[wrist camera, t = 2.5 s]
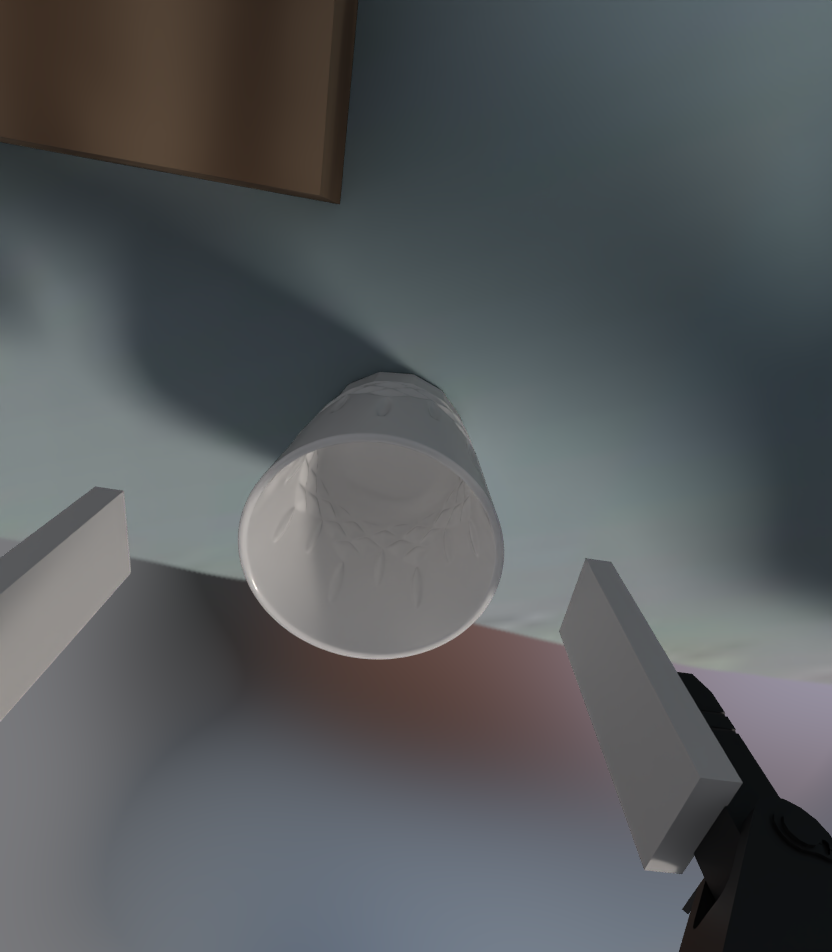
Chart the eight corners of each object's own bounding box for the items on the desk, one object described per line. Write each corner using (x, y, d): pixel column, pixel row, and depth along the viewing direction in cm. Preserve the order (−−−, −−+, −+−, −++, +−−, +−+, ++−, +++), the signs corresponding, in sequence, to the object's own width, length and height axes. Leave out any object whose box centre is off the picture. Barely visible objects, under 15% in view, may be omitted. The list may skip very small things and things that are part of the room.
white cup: (507, 461, 24) (553, 589, 15) (376, 539, 26) (347, 694, 17) (413, 321, 22) (401, 375, 13) (276, 420, 24) (180, 528, 15)
